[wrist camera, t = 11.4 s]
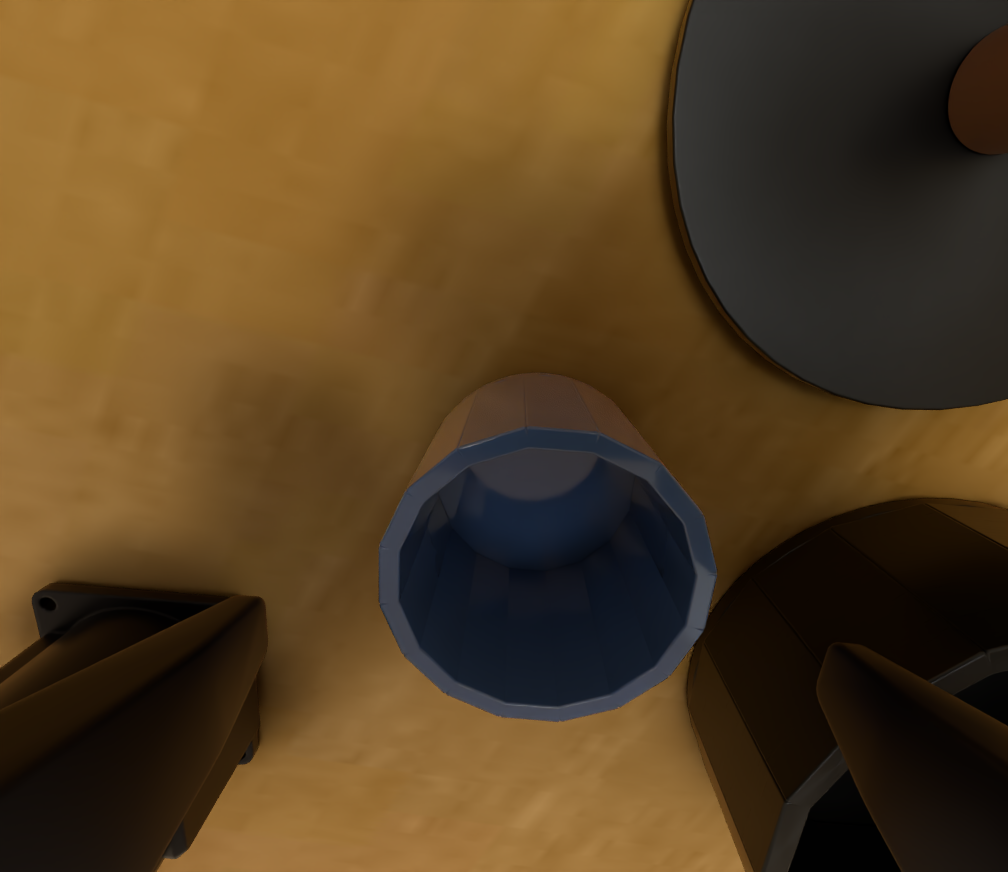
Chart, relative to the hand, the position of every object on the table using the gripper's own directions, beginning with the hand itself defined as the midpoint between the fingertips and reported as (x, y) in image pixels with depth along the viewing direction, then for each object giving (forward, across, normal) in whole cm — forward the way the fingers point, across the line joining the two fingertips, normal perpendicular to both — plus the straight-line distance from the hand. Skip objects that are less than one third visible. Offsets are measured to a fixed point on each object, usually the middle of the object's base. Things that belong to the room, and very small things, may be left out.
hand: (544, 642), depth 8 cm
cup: (+7, 0, 0) cm, 7 cm away
